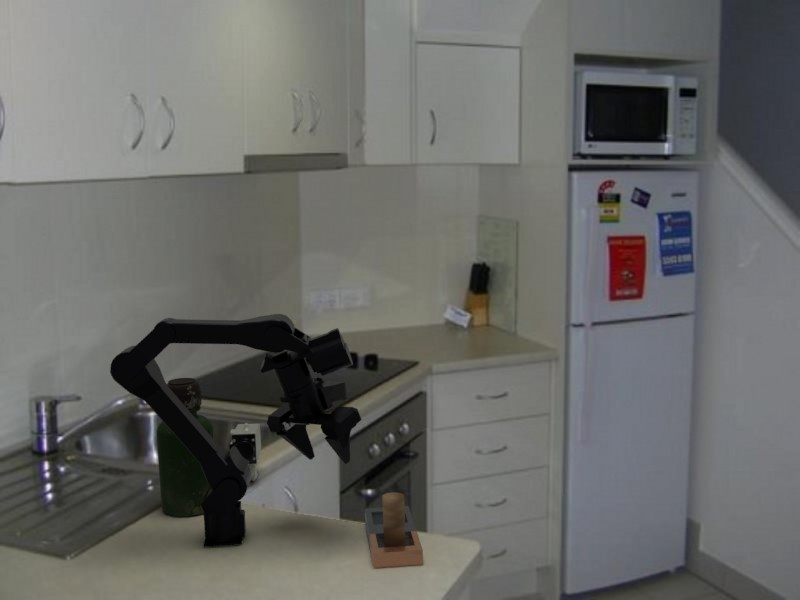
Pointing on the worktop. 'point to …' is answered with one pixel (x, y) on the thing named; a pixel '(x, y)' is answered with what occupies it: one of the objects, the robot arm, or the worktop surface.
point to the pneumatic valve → (248, 444)
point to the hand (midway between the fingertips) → (329, 460)
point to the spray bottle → (181, 458)
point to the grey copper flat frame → (392, 554)
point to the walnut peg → (393, 519)
